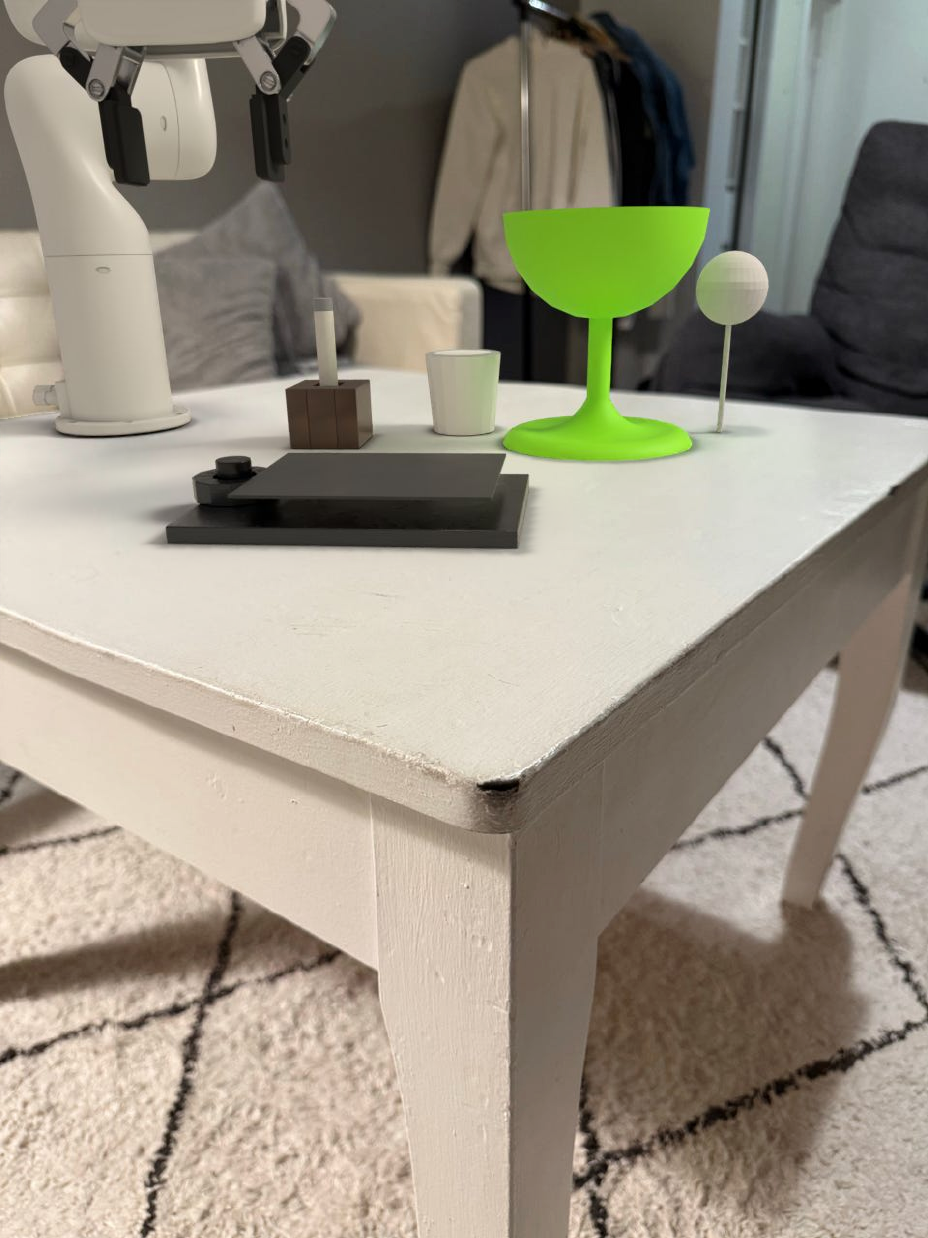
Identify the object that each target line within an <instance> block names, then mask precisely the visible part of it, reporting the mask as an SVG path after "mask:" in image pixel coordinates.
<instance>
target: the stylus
mask: <svg viewBox="0 0 928 1238" xmlns="http://www.w3.org/2000/svg"><path fill="white" fill-rule="evenodd" d="M333 303H334V300H333V297H313V298H312V305H313V311H314V312H313V316H314V329H315V343H316V356H317V357H316V358H317V369H318V380H319V385H320V386H338V380H339V375H338V359H337V346H336V345H337V344H336V331H335V316H334V304H333Z"/></svg>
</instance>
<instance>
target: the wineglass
mask: <svg viewBox="0 0 928 1238" xmlns="http://www.w3.org/2000/svg"><path fill="white" fill-rule="evenodd" d="M710 212H711V208H709V207H702V206H674V205H673V206H669V205H667V206H665V205H663V206H662V205H661V206H660V205H659V206H658V205H657V206H656V205H655V206H651V205H649V206H648V205H647V206H644V205H643V206H598V207H597V206H596V207H594V206H593V207H571V208H570V207H566V208H546V209H530V210H519V211H509V212H503V213H502V214H501V215H502V221H503V222H502V223H503V230H504V238H505V244H506V247H507V250H508V252H509V255H510V258H511V260H512V262H513V265H514V267H515V269H516V271H517V272H518V274H519V275H520V276H521V278H522V279H523V280H524V282H525V283H526V285H527V286H528V288H529V289H530V290H531V291H532V292H533V293H534V294H535V295H537V296H538V297H539V298H540V299H542V300H543V301H544V302H546V303H547V304H548V305H549V306H550V307H552V308H554V309H556V310H559V311H562V312H564V313H566V314H568V315H571V316H573V317H577V318H583V319H584V318H585V319H588V339H587V341H588V342H587V368H586V369H587V370H586V371H587V372H586V373H587V374H586V397H585V400H584V401H583V403H582V404H581V406H580V408H579V409H578V410H577V411H576V412H575V413H574V414H573V415H564V416H563V415H562V416H553V417H545V418H539V419H533V420H530V421H525V422H522V423H519V424H517V425H516V426H514V427H512V428H511V429H509V430H508V431H507V433H506V434H505V436H504V439H503V442H502V446H504V447H505V448H506V449H507V450H508V451H514V452H516V453H518V454H519V453H520V454H524V455H528V456H533V457H539V458H547V459H554V460H564V461H565V460H566V461H585V462H617V461H635V460H645V459H655V458H662V457H667V456H672V455H676V454H680V453H683V452H686V451H687V452H688V451H689V450H690V449H691V448H692V446H693V441H692V439H691V437H690V435H689V434H688V433H687V431H686V430H685V429H684V428H682V427H680V426H678V425H676V424H674V423H671V422H667V421H663V420H660V419H653V418H646V417H640V416H627V415H621V414H620V412H618V410H617V409H616V407H615V406H614V404H613V402H612V399H611V398H610V392H611V391H610V389H611V367H612V366H611V365H612V339H613V319H614V318H623V317H627V316H629V315H632V314H634V313H637V312H640V311H641V310H644V309H646V308H648V307H651V306H653V305H654V304H655V303H657V302H658V301H660V299H662V298H663V297H665V295H667V294H669V292H671V291H672V290H674V289H675V287H676V286H677V285H678V283H679V282H680V281H681V280H682V279H683V278H684V276H685V275H686V274H687V272H688V271H689V270H690V269H691V267H692V266H693V264H694V263H695V260H696V258H697V256H698V254H699V251H700V249H701V247H702V245H703V243H704V241H705V237H706V233H707V229H708V228H707V227H708V222H709V218H710Z"/></svg>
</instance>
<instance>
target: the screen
mask: <svg viewBox="0 0 928 1238" xmlns="http://www.w3.org/2000/svg"><path fill="white" fill-rule="evenodd" d="M506 457H507V453H504V452H503V453H502V452H501V453H500V452H499V453H498V452H491V453H490V452H485V453H484V452H467V453H466V452H455V453H454V452H287V453H285V454H284V455H283V456H282V457H280V458H278V459H277V460H275V461H274V462H273V463H271V464H270V465H268V466H267V467H265V468H266V469H264V470H263V471H261V472H260V473H258V474H257V475H256V476H254V477H253V478H251V479H250V480H248V481H247V482H246V483H244V484H243V485H241V486H240V487H238V488H237V489H236V490H234V491H233V492H231V493H230V494H228V495H227V496H228V498H233V499H342V500H450V501H492V498H493V495H494V491H495V488H496V485H497V482H498V479H499V476H500V474H502V471H503V466H504V464H505V461H506Z"/></svg>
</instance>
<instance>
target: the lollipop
mask: <svg viewBox="0 0 928 1238" xmlns="http://www.w3.org/2000/svg"><path fill="white" fill-rule="evenodd" d="M695 286H696V287H695V297H696V301H697V304H698V307H699V310H700V311H701V312H702V313H703V315H704V316H706V318H707V319H709V320H710V321H712V322H714V323H716V324H719V325H723V326H724V325H725V331H724V340H723V341H724V343H723V353H722V365H721V367H722V368H721V378H720V391H719V402H718V411H717V413H718V414H717V425H716V433H723V427H724V414H725V405H726V404H725V403H726V391H727V382H728V381H727V380H728V369H729V358H730V347H731V346H730V345H731V333H732V326H734V325H735V326H736V325H738V324H742V323H744V322H746V321H748V320H750V319H751V318H752V317H754V316H755V315H756V314H757V313H758V311H760V310H761V308H763V307H762V306H763V305H764V303H765V302H766V299H767V297H768V292H769V277H768V272H767V271H766V268H765V266H764V264H763V263H762V262H761V261H760V260H759V259H758V258H757V257H755V255H753V254H751V253H748V252H745V251H743V250H729V251H725V252H722V253H719V254H718V255H716V256H714V257H713V258H712V259H711V260H709V261H708V262H707V263H706V264H705V265H704V267H703V268H702V269H701V272H700V274H699V276H698V278H697V281H696V285H695Z"/></svg>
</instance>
